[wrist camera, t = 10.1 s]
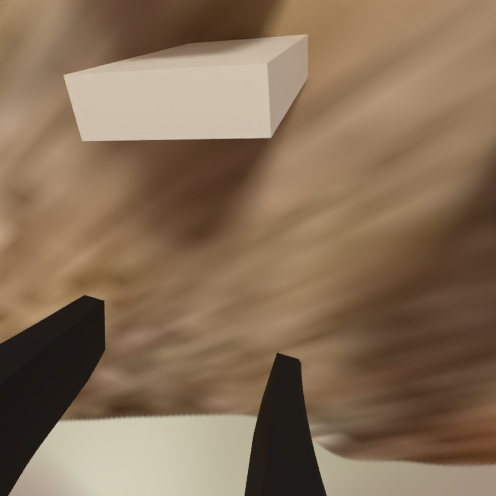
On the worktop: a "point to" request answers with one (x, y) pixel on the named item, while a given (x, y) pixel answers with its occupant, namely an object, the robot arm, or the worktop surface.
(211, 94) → the domino
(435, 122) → the worktop surface
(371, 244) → the worktop surface
